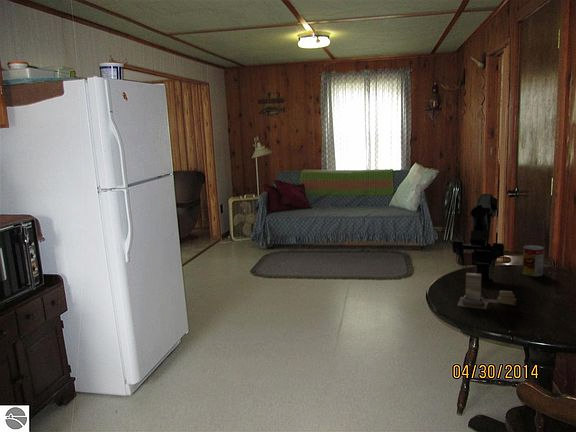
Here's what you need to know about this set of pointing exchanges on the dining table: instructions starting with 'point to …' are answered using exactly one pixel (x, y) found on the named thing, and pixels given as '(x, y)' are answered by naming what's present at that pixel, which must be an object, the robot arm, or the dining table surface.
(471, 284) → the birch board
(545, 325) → the dining table surface
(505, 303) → the lower offcut
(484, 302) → the rack
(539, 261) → the canned food
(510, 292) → the upper offcut
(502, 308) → the dining table surface
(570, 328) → the dining table surface
